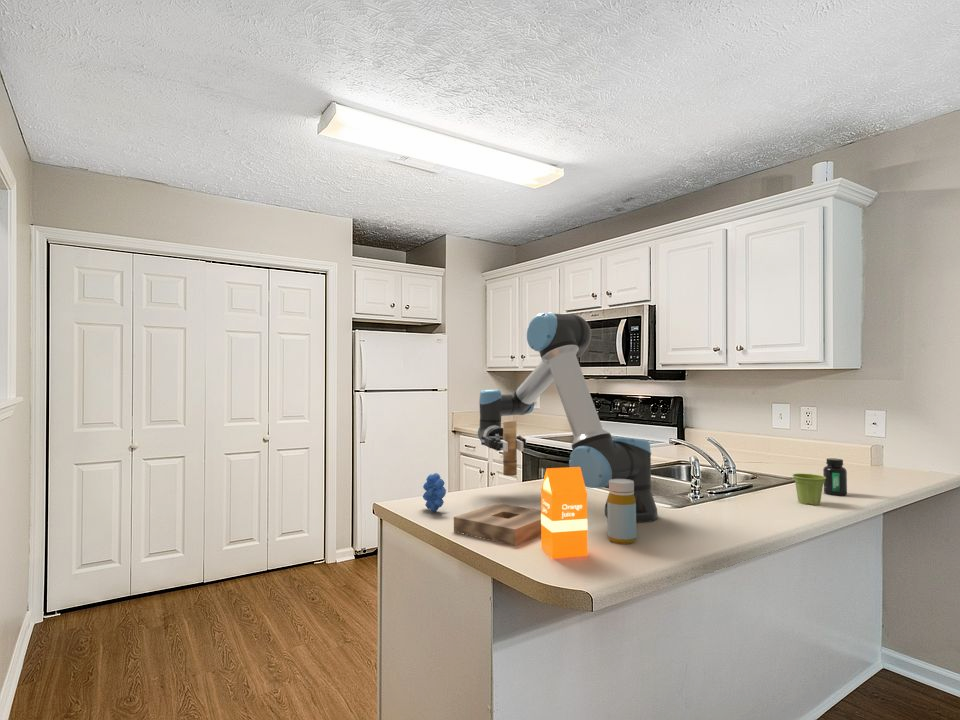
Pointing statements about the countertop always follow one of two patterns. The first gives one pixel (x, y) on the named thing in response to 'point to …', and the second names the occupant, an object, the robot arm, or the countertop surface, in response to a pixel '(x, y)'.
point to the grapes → (434, 492)
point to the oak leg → (510, 448)
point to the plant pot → (809, 488)
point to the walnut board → (501, 523)
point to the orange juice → (564, 513)
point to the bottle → (621, 511)
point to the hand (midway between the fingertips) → (514, 446)
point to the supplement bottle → (835, 478)
